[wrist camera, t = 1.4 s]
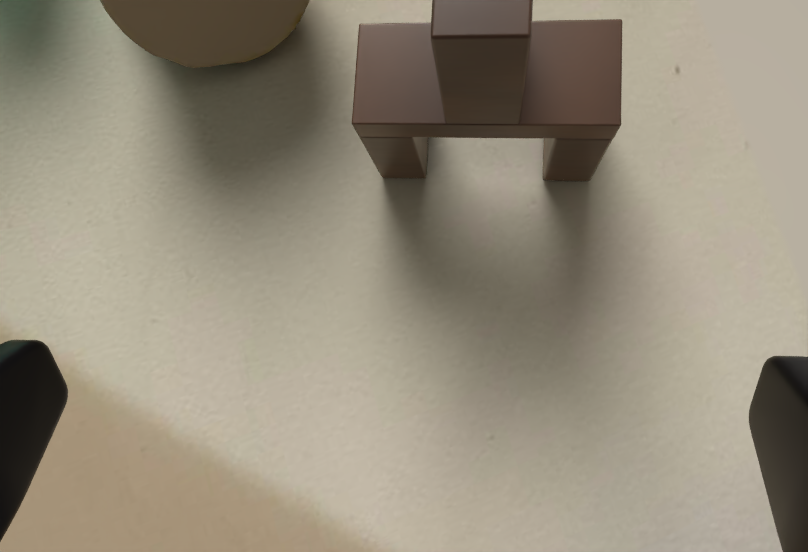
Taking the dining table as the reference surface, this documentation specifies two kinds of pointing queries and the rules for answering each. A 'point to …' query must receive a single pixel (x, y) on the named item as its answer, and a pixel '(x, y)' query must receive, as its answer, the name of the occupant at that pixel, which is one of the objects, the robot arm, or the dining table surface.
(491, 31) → the brown stepped block
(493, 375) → the dining table surface
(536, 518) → the dining table surface
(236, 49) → the flowered bud vase
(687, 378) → the dining table surface
